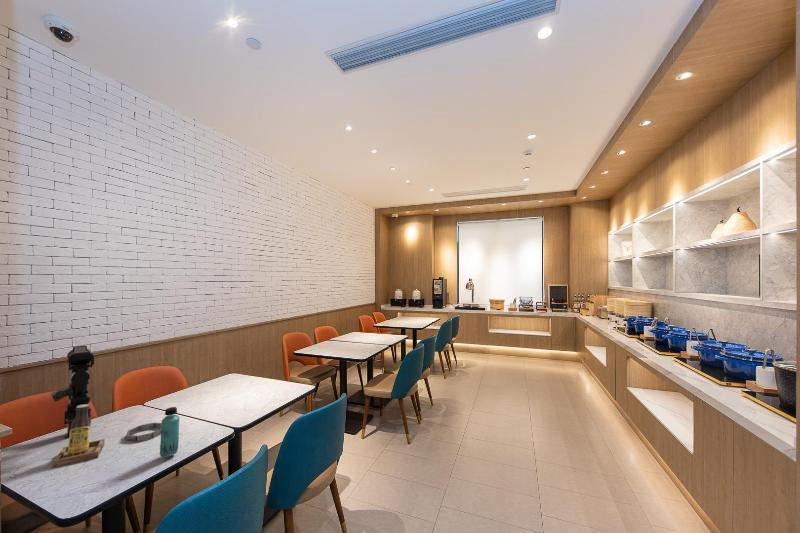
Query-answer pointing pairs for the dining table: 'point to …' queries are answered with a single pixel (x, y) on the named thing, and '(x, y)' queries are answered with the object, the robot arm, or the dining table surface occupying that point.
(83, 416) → the sauce bottle
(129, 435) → the metal collar
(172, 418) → the beverage bottle
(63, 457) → the walnut tray
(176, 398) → the dining table surface
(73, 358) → the robot arm
